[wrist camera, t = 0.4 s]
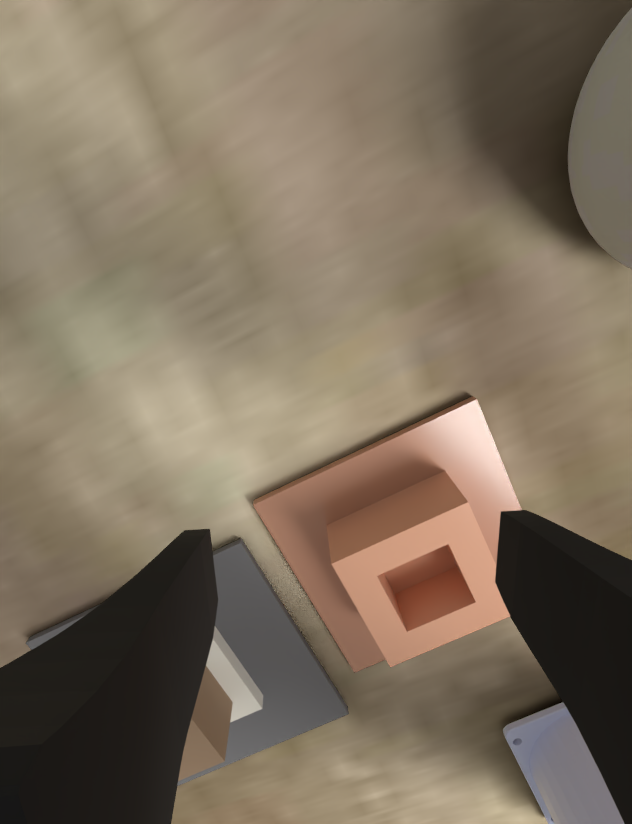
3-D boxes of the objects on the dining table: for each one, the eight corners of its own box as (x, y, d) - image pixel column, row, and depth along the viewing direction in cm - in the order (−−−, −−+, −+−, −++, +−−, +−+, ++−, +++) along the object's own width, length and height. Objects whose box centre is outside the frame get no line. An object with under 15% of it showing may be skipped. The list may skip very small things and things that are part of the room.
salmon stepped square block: (547, 581, 24) (588, 632, 21) (353, 664, 25) (362, 726, 22) (472, 396, 21) (506, 420, 18) (254, 500, 22) (247, 541, 19)
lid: (263, 695, 25) (258, 767, 21) (177, 732, 25) (158, 809, 22) (213, 624, 24) (199, 689, 20) (123, 664, 24) (93, 735, 20)
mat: (347, 707, 26) (348, 713, 26) (158, 787, 27) (156, 794, 27) (241, 538, 23) (240, 542, 22) (30, 637, 24) (25, 642, 23)
